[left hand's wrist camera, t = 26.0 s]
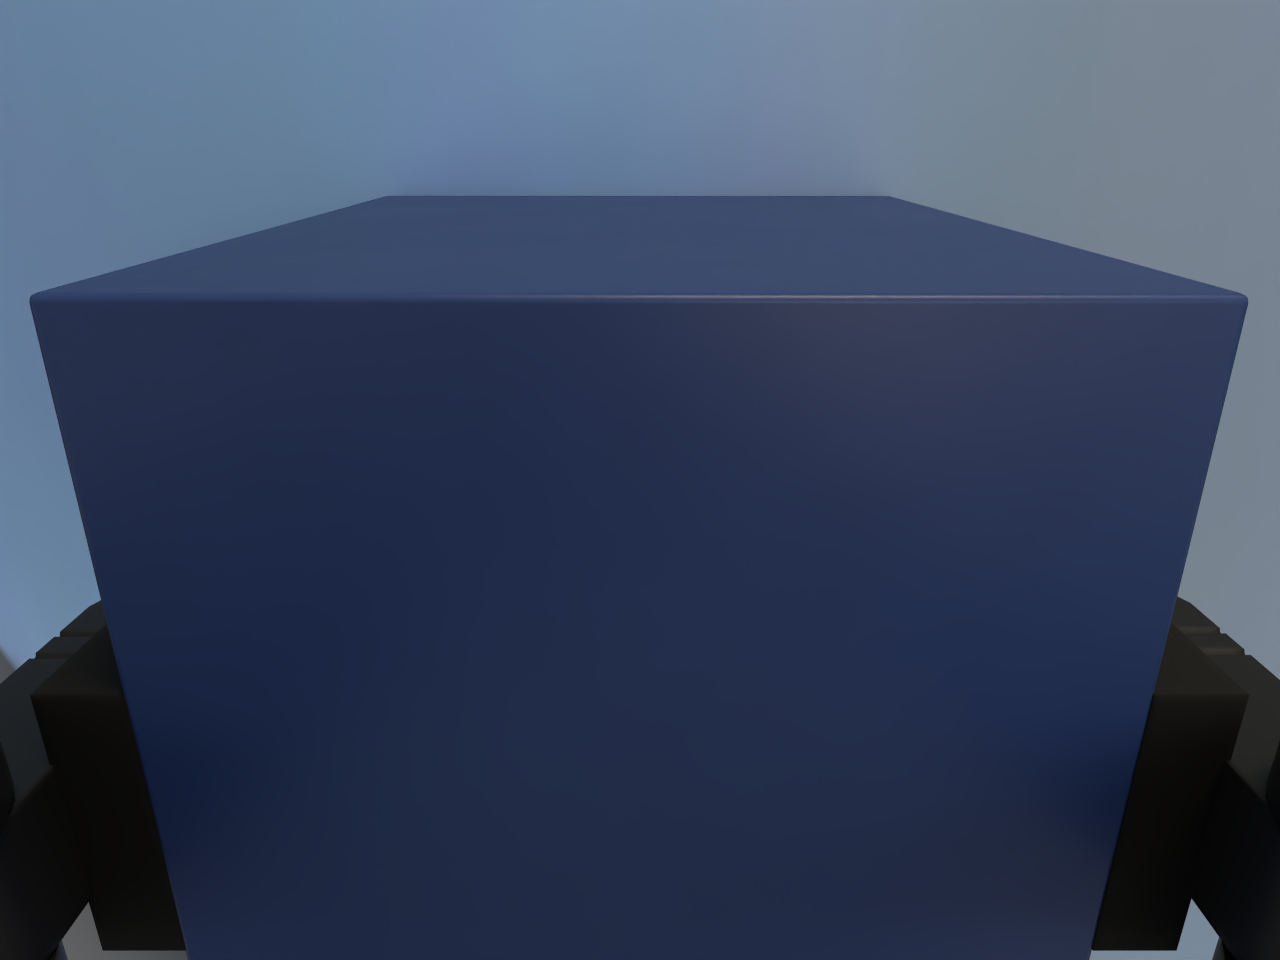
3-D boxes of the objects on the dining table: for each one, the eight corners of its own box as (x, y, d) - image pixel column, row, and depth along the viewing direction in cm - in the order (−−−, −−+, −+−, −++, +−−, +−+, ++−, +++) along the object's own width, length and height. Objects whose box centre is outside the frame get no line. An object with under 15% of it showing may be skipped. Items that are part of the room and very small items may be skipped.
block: (845, 678, 18) (1037, 1187, 9) (431, 679, 18) (240, 1189, 9) (892, 195, 15) (1254, 294, 6) (384, 196, 15) (22, 293, 6)
